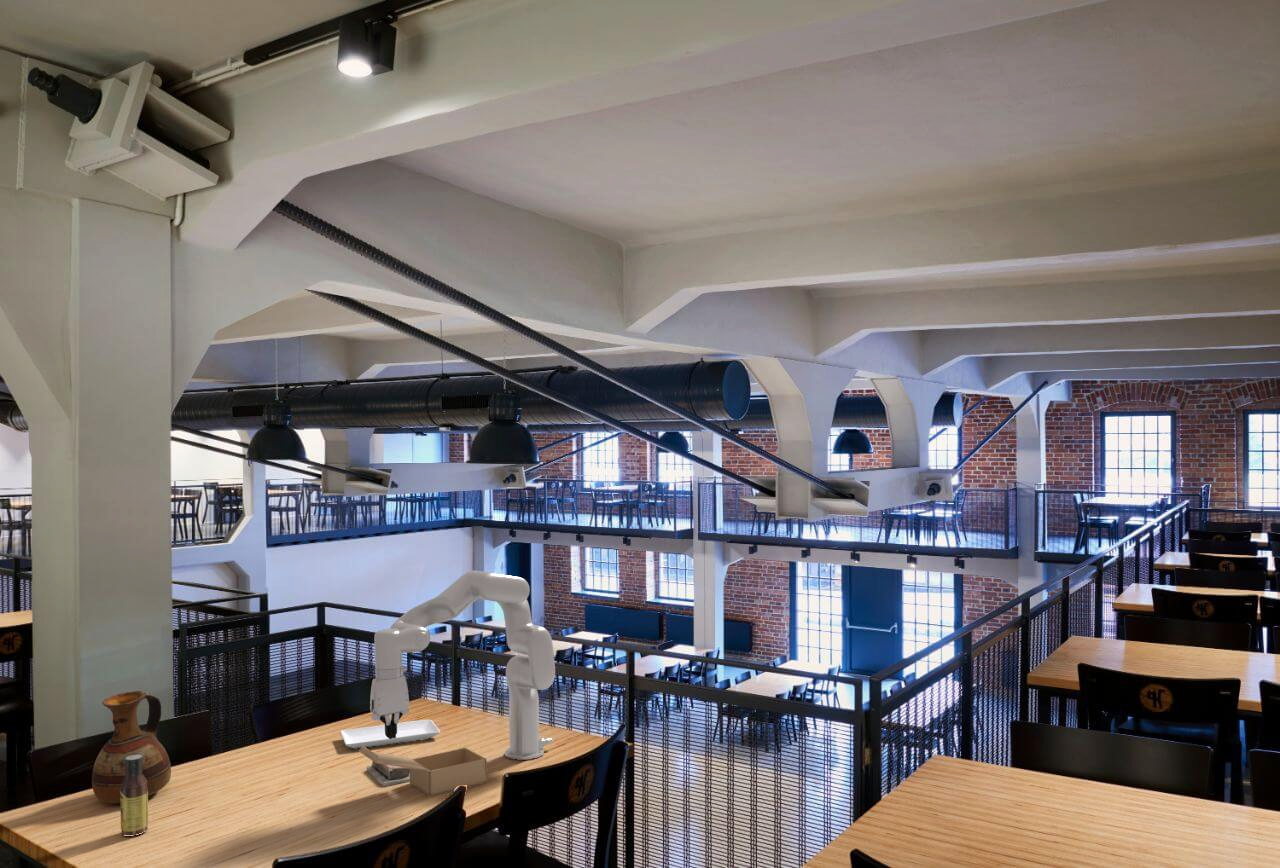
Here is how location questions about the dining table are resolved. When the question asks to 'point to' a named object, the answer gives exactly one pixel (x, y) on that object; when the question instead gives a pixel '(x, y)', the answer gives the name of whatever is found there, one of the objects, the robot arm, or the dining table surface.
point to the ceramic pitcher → (130, 747)
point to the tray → (378, 737)
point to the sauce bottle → (134, 798)
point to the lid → (390, 759)
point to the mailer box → (448, 771)
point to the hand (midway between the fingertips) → (391, 737)
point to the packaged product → (389, 773)
